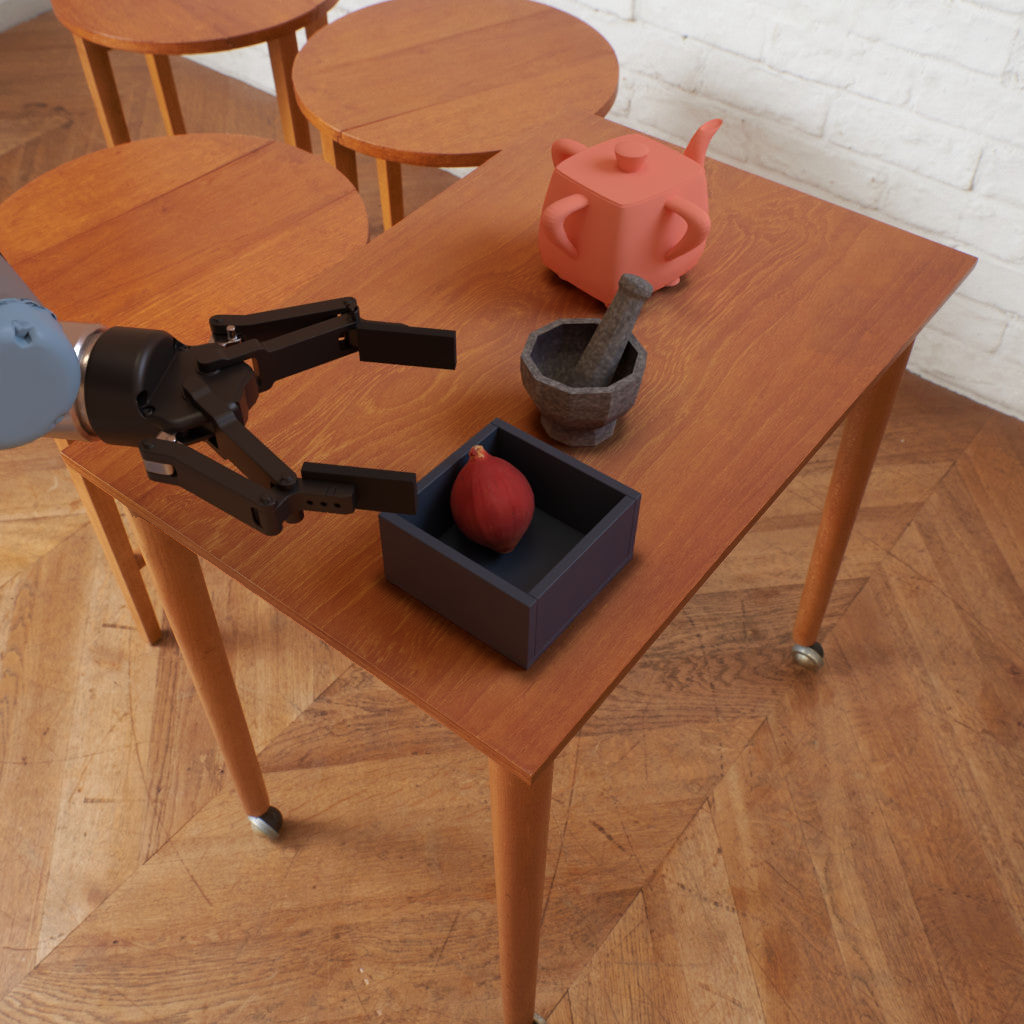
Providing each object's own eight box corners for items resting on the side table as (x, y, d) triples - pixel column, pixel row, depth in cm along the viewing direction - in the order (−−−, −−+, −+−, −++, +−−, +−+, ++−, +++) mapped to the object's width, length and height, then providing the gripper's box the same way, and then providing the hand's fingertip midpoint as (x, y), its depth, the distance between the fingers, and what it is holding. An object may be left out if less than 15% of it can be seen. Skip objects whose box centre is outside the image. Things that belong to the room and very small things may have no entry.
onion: (461, 557, 76) (429, 453, 75) (535, 532, 77) (505, 428, 75) (476, 575, 71) (441, 463, 69) (555, 547, 72) (523, 436, 70)
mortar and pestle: (571, 479, 81) (581, 354, 72) (496, 416, 86) (496, 293, 77) (674, 419, 86) (694, 296, 78) (596, 363, 91) (608, 242, 82)
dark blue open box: (526, 670, 69) (529, 607, 64) (384, 579, 74) (377, 514, 69) (632, 558, 76) (642, 493, 71) (496, 481, 81) (496, 416, 76)
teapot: (536, 321, 95) (542, 189, 86) (537, 229, 106) (542, 102, 97) (720, 327, 95) (746, 195, 86) (702, 233, 106) (724, 107, 97)
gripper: (187, 318, 78) (469, 344, 76) (38, 571, 61) (399, 612, 59) (164, 228, 72) (468, 254, 71) (-6, 478, 55) (390, 520, 53)
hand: (437, 417), depth 65 cm, fingers open, 13 cm apart
